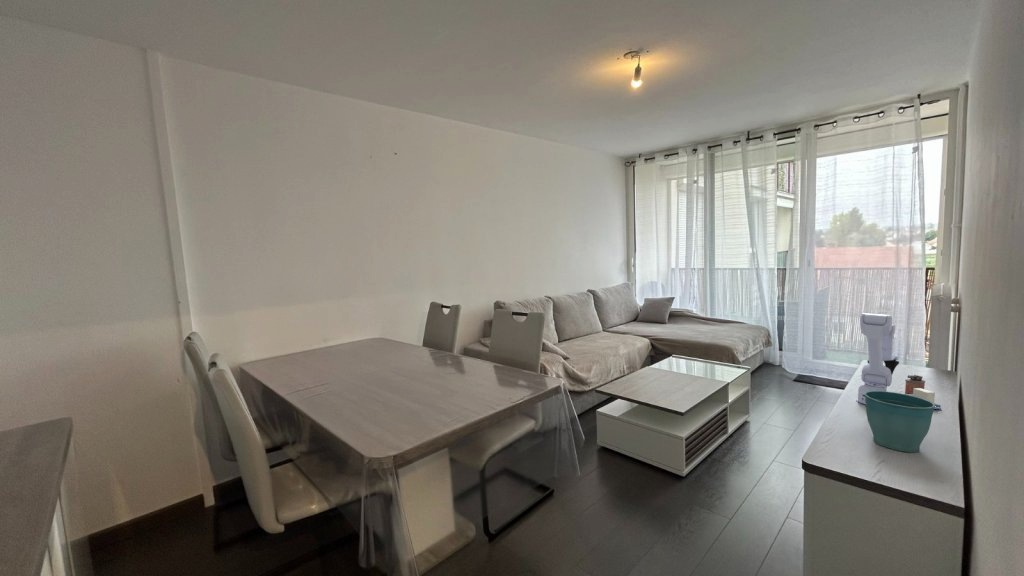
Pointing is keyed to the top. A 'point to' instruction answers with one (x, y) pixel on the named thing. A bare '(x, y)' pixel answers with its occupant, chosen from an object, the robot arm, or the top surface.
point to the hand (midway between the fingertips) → (882, 375)
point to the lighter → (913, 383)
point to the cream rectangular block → (924, 394)
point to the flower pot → (898, 419)
